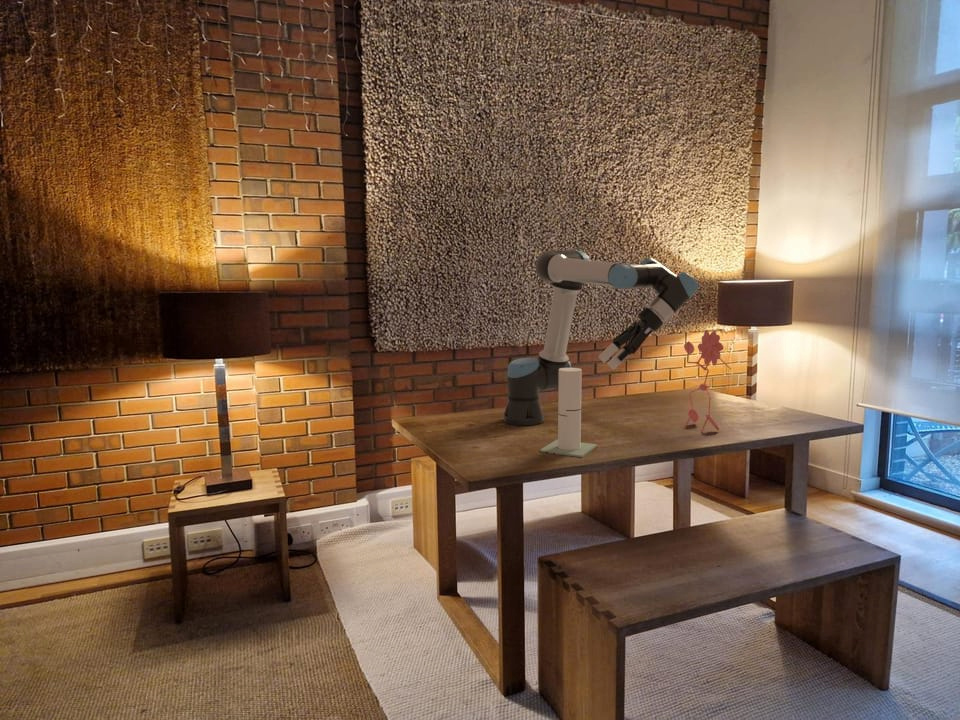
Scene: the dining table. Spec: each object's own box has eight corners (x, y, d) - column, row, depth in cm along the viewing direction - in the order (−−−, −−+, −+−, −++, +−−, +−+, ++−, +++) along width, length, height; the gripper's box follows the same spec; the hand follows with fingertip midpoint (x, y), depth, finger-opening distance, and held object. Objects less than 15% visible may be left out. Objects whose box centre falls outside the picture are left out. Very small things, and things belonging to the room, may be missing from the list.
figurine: (714, 438, 214) (718, 334, 209) (670, 421, 238) (673, 328, 233) (752, 434, 218) (757, 332, 213) (705, 418, 242) (709, 326, 237)
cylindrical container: (579, 450, 199) (581, 371, 195) (557, 449, 200) (557, 370, 197) (581, 444, 206) (582, 367, 202) (558, 443, 207) (559, 367, 204)
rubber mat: (539, 451, 200) (539, 449, 200) (556, 441, 213) (556, 439, 213) (582, 457, 194) (582, 455, 194) (597, 446, 206) (597, 444, 206)
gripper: (676, 327, 185) (623, 378, 187) (651, 319, 210) (605, 365, 212) (659, 309, 184) (605, 361, 186) (636, 303, 209) (589, 349, 211)
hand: (605, 363), depth 199 cm, fingers open, 13 cm apart
